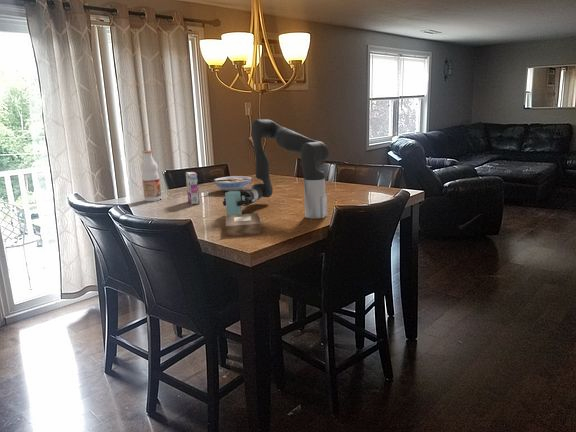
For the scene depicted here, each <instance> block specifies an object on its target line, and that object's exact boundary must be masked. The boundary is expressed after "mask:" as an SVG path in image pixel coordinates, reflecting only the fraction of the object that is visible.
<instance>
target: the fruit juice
mask: <svg viewBox="0 0 576 432" xmlns="http://www.w3.org/2000/svg"><path fill="white" fill-rule="evenodd" d="M142 154H143V161H142V162H141V165H140V169H141V172H142V173H141V174H142V175H141V181H142V188H143V195H144V196H143V197H144V201H145V202H158V201H160V199H161V200H162V198H163V197H162V189H161V181H160V180H161V179H160V174H159V172H158V169H159V166H158V164H157V161H155V159H154V157H153V150H144V151H142ZM157 200H158V201H157Z"/></svg>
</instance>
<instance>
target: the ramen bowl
mask: <svg viewBox="0 0 576 432" xmlns="http://www.w3.org/2000/svg"><path fill="white" fill-rule="evenodd" d="M251 181H252V177H251V176H243V175H239V176H238V175H232V176H224V177H218V178H214V179H210V180H209V182H213V183H215V185H216V186H217V187H218V188H219V189H221V190H223V191H226V192H229V191H242V190H244V189H246V187H247V186H248V185H249V184H250V182H251Z"/></svg>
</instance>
